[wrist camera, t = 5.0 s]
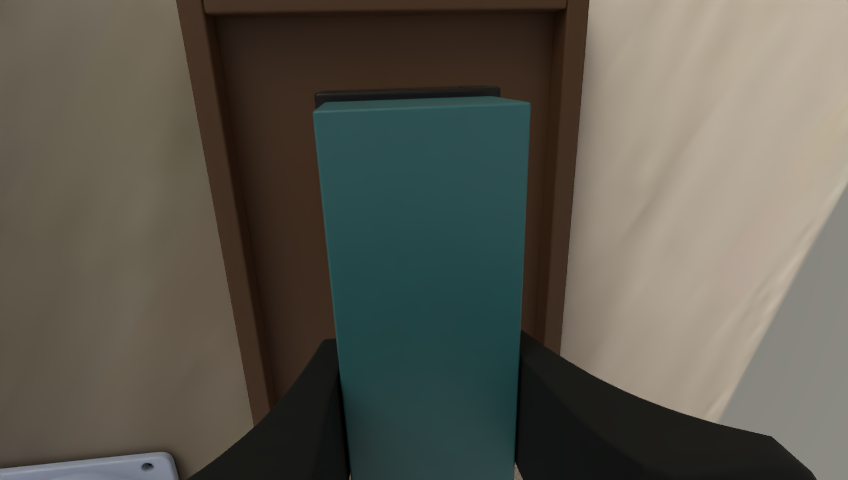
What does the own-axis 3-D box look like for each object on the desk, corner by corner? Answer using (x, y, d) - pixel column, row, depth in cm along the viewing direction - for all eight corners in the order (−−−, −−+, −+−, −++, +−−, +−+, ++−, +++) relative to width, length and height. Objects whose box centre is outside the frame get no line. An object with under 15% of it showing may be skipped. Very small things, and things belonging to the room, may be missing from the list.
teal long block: (480, 500, 17) (514, 624, 13) (361, 516, 16) (360, 649, 12) (486, 85, 12) (543, 90, 8) (319, 90, 12) (298, 98, 8)
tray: (265, 433, 22) (259, 457, 21) (189, -7, 16) (172, -14, 15) (543, 404, 24) (554, 424, 22) (573, -11, 17) (591, -18, 16)
